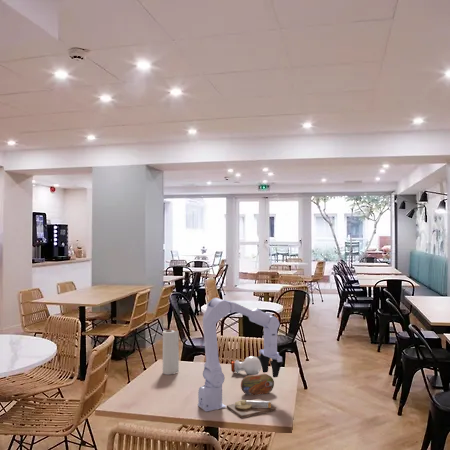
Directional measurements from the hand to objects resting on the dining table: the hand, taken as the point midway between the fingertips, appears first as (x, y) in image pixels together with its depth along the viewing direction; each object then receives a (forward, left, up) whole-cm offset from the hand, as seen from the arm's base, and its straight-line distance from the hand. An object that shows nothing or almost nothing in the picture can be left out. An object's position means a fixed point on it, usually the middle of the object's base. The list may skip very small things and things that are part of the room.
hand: (270, 374), depth 204 cm
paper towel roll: (-25, +53, -10) cm, 60 cm away
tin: (-2, +7, -10) cm, 13 cm away
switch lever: (-14, -8, -9) cm, 19 cm away
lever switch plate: (-14, -7, -10) cm, 19 cm away
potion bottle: (+8, +32, -10) cm, 35 cm away
